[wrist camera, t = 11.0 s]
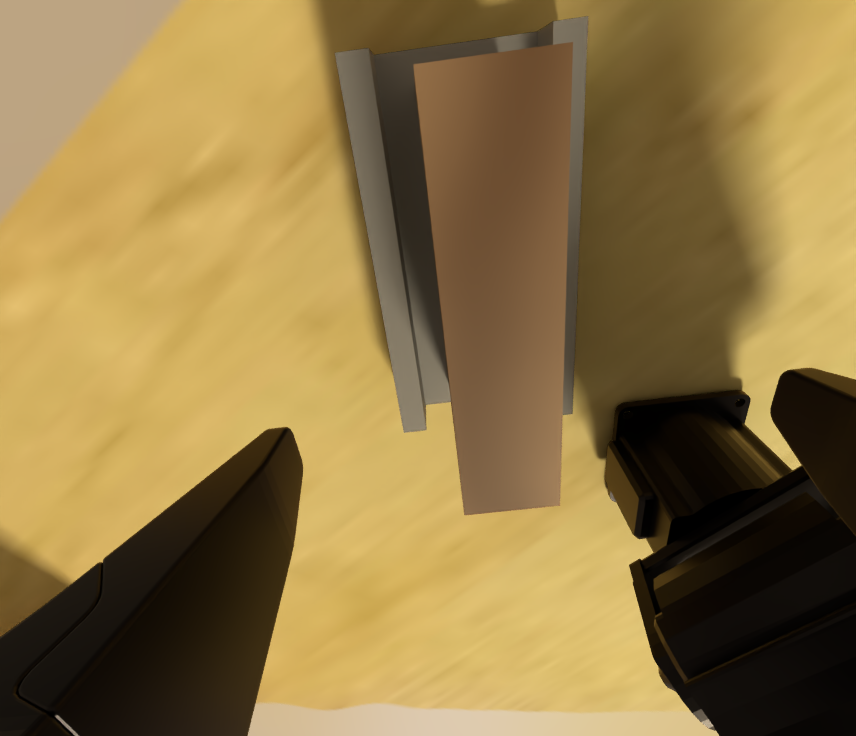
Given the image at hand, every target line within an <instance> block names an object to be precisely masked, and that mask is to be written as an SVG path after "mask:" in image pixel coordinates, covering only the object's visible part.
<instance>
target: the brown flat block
mask: <svg viewBox="0 0 856 736" xmlns="http://www.w3.org/2000/svg"><path fill="white" fill-rule="evenodd" d="M572 63H573V42H569V43H561V44H554V45H547V46H540V47H533V48H526V49H519V50H512V51H505V52H498V53H491V54H484V55H476V56H469V57H462V58H455V59H448V60H441V61H434V62H427V63H420V64H413V65H414V81H415V91H416V100H417V108H418V117H419V126H420V135H421V144H422V152H423V161H424V170H425V179H426V187H427V196H428V205H429V214H430V222H431V231H432V240H433V249H434V258H435V266H436V275H437V284H438V293H439V301H440V310H441V319H442V328H443V337H444V345H445V354H446V363H447V372H448V380H449V389H450V397H451V406H452V414H453V423H454V431H455V440H456V448H457V456H458V465H459V473H460V482H461V490H462V499H463V507H464V515H472V514H482V513H492V512H502V511H511V510H521V509H531V508H541V507H550V506H560V486H561V450H562V415H563V380H564V345H565V309H566V274H567V239H568V204H569V168H570V133H571V98H572Z"/></svg>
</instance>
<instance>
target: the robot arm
mask: <svg viewBox="0 0 856 736" xmlns="http://www.w3.org/2000/svg"><path fill="white" fill-rule="evenodd" d="M738 399H740V400H739V401H737V400H738ZM736 401H737V402H736ZM749 405H750V397H749V396H748V395H747V394H746V393H745V392H743V391H741V390H734V391H725V392H716V393H707V394H698V395H689V396H680V397H671V398H662V399H653V400H644V401H635V402H626V403H622V404H620V405H619V406H618V407H617V408H616V410H615V417H614V428H613V438H612V441H610V443H609V444H608V448H607V459H606V470H605V481H606V483H607V484H608V495H609V497H610V499H611V500H612V501H614V502H617V504H618V506H619V508H620V510H621V512H622V514H623V516H624V518H625V520H626V522H627V524H628V526H629V528H630V530H631V532H632V534H633V535H634V536H635V537H637V538H638V539H644V538H646V539H647V541H648V543H649V545H650V547H651V549H652V551H653V552H654V553H653V554H651V555H649V556H648V557H646V558H644V559H643V560H641V559H638V560H636V561H635V562H633V563H631V564H630V565H629V567H630V570H631V574H632V578H633V586H634V590H635V593H636V597H637V601H638V604H639V608H640V612H641V615H642V619H643V623H644V626H645V630H646V634H647V637H648V641H649V645H650V648H651V652H652V655H653V658H654V660H655V662H656V663H657V665H658V668H659V674H660V677H661V679H662V681H663V682H664V684H665V685H666V686H667V687H668V688H670V689H672V690H674V691H676V692H677V693H678V695H679V696H680V698H681V699H682V701H683V702H684V703H685V705H686V706H687V707H688V708H689V710H690V711H691V712H692V713H693V714H694V715H695V716H696V717H697V719H699V721H700V722H701V723H703V724H704V725H705V726H706V727H708V728H709V729H712V730H716V731H717V733H718V734H719V736H856V380H855V379H852V378H848V377H844V376H840V375H837V374H833V373H829V372H825V371H822V370H818V369H814V368H801V369H793V370H787V371H785V372H784V373H783V374H782V375H781V376H780V378H779V381H778V385H777V388H776V391H775V395H774V398H773V401H772V405H771V412H770V413H771V417H772V420H773V422H774V424H775V425H776V427H777V428H778V430H779V431H780V433H781V434H782V436H783V437H784V439H785V440H786V442H787V443H788V445H789V446H790V448H791V449H792V451H793V453H794V454H795V456H796V457H797V459H798V460H799V462H800V463H801V466H800V467H798V468H796V469H795V470H793V471H792V470H791V469H790V468H789V467H788V466H787V465H786V464H785V463H784V462H783V461H782V460H781V459H780V458H779V457H778V456H777V455H776V454H775V453H774V452H773V451H772V450H771V449H770V448H769V447H768V446H766V445H765V444H764V443H763V442H762V441H761V440H760V439H759V438H758V437H757V436H756V435H755V434H754V433H753V432H752V431H751V430H750V429H749V428H748V427H747V426H746V425H745V424H744V423H745V420H746V416H747V412H748V408H749ZM627 411H630V412H629V413H628V414H626V415H623V414H624V413H625V412H627ZM302 477H303V463H302V459H301V456H300V453H299V450H298V447H297V444H296V441H295V438H294V435H293V432H292V431H291V429H290V428H288V427H282V428H273V429H268V430H266V431H264V432H263V433H262V434H261V435H259V436H258V437H257V438H256V439H254V440H253V441H252V442H251V443H249V444H248V445H247V446H245V447H244V448H243V449H242V450H240V451H239V452H238V453H237V454H235V455H234V456H233V457H232V458H230V459H229V460H228V461H227V462H225V463H224V464H223V465H221V466H220V467H219V468H218V469H216V470H215V471H214V472H213V473H211V474H210V475H209V476H208V477H206V478H205V479H204V480H203V481H201V482H200V483H199V484H197V485H196V486H195V487H194V488H192V489H191V490H190V491H189V492H187V493H186V494H185V495H184V496H182V497H181V498H180V499H179V500H177V501H176V502H175V503H173V504H172V505H171V506H170V507H168V508H167V509H166V510H165V511H163V512H162V513H161V514H160V515H158V516H157V517H156V518H154V519H153V520H152V521H151V522H149V523H148V524H147V525H146V526H144V527H143V528H142V529H141V530H139V531H138V532H137V533H136V534H134V535H133V536H132V537H130V538H129V539H128V540H127V541H125V542H124V543H123V544H122V545H120V546H119V547H118V548H117V549H115V550H114V551H113V552H111V553H110V554H109V555H108V556H106V557H105V558H104V560H103V563H102V562H100V563H97V564H96V565H95V566H94V567H92V568H91V569H90V570H89V571H87V572H86V573H85V574H84V575H82V576H81V577H80V578H79V579H77V580H76V581H75V582H74V583H72V584H71V585H70V586H68V587H67V588H66V589H64V590H63V591H62V592H60V593H59V594H58V595H57V596H55V597H54V598H53V599H51V600H50V601H49V602H47V603H46V604H45V605H44V606H42V607H41V608H40V609H38V610H37V611H36V612H34V613H33V614H32V615H30V616H29V617H27V618H26V619H25V620H23V621H22V622H21V623H19V624H18V625H16V626H15V627H14V628H12V629H11V630H9V631H8V632H7V633H5V634H4V635H3V636H1V637H0V736H247V735H248V731H249V727H250V723H251V718H252V715H253V711H254V707H255V703H256V699H257V695H258V691H259V687H260V683H261V678H262V674H263V670H264V666H265V662H266V658H267V654H268V650H269V646H270V642H271V638H272V634H273V630H274V626H275V621H276V617H277V613H278V609H279V605H280V601H281V597H282V593H283V589H284V585H285V581H286V577H287V573H288V568H289V564H290V560H291V556H292V551H293V547H294V540H295V534H296V526H297V518H298V510H299V501H300V493H301V485H302Z"/></svg>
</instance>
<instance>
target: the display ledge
mask: <svg viewBox="0 0 856 736" xmlns="http://www.w3.org/2000/svg"><path fill="white" fill-rule="evenodd" d="M587 36H588V16H586V17H579V18H572V19H566V20H559V21H553V22H551V23H550V24H548V25H547V26H545V27H544V28H542V29H540V30H539V31H537V32H530V33H523V34H516V35H509V36H502V37H495V38H488V39H481V40H474V41H467V42H460V43H453V44H446V45H439V46H433V47H426V48H419V49H412V50H405V51H398V52H391V53H384V54H377V55H373V53H372V52H371V51H370V49H369V48H365V49H358V50H351V51H344V52H337V53H335V57H336V63H337V68H338V74H339V79H340V85H341V90H342V96H343V101H344V107H345V112H346V118H347V123H348V129H349V134H350V140H351V145H352V151H353V156H354V161H355V167H356V172H357V178H358V183H359V189H360V194H361V200H362V205H363V211H364V216H365V222H366V227H367V233H368V238H369V244H370V249H371V255H372V260H373V266H374V271H375V277H376V282H377V288H378V293H379V299H380V304H381V310H382V315H383V321H384V326H385V332H386V337H387V343H388V348H389V353H390V359H391V364H392V370H393V375H394V381H395V386H396V392H397V397H398V403H399V408H400V414H401V419H402V425H403V430H404V433H405V432H414V431H423V430H426V405H428V404H437V403H446V402H451V397H450V389H449V380H448V372H447V363H446V354H445V345H444V337H443V328H442V319H441V310H440V301H439V293H438V284H437V275H436V266H435V258H434V249H433V240H432V231H431V222H430V214H429V205H428V196H427V187H426V179H425V170H424V161H423V152H422V144H421V135H420V126H419V117H418V108H417V100H416V91H415V81H414V65H413V64H420V63H427V62H434V61H441V60H448V59H455V58H462V57H469V56H476V55H484V54H491V53H498V52H505V51H512V50H519V49H526V48H533V47H540V46H547V45H554V44H561V43H569V42H573V63H572V98H571V133H570V168H569V204H568V239H567V274H566V309H565V345H564V380H563V415H568V414H572V413H573V387H574V362H575V337H576V312H577V287H578V262H579V237H580V212H581V187H582V162H583V136H584V111H585V86H586V61H587Z"/></svg>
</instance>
